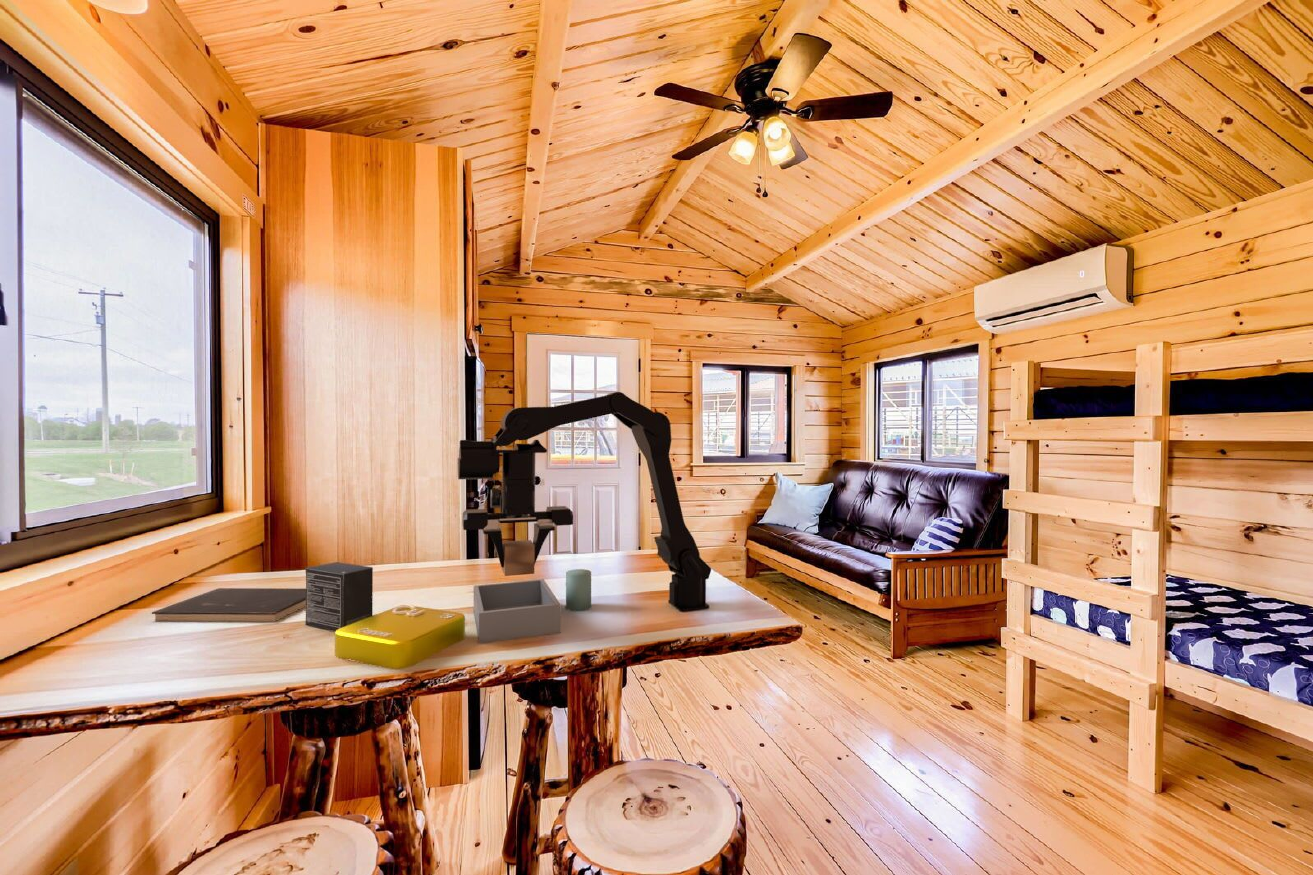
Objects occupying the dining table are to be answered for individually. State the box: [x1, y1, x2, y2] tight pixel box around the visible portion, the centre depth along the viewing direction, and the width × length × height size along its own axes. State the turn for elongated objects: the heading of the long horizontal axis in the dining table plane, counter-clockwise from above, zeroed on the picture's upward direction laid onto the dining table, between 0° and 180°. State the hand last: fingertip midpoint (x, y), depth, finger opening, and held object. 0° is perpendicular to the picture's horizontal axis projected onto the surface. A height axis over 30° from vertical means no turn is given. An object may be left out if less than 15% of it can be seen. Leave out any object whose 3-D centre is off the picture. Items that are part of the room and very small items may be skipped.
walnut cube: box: [501, 539, 535, 577], centre depth 99 cm, size 5×5×5 cm
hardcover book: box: [151, 587, 306, 622], centre depth 111 cm, size 16×23×2 cm
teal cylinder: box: [565, 568, 592, 612], centre depth 112 cm, size 5×5×7 cm
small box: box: [305, 561, 374, 632], centre depth 102 cm, size 11×6×10 cm, turn 65°
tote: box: [473, 578, 561, 644], centre depth 103 cm, size 14×18×5 cm
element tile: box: [334, 604, 466, 670], centre depth 92 cm, size 15×15×5 cm
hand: (517, 565), depth 99 cm, fingers closed on walnut cube, 5 cm apart
